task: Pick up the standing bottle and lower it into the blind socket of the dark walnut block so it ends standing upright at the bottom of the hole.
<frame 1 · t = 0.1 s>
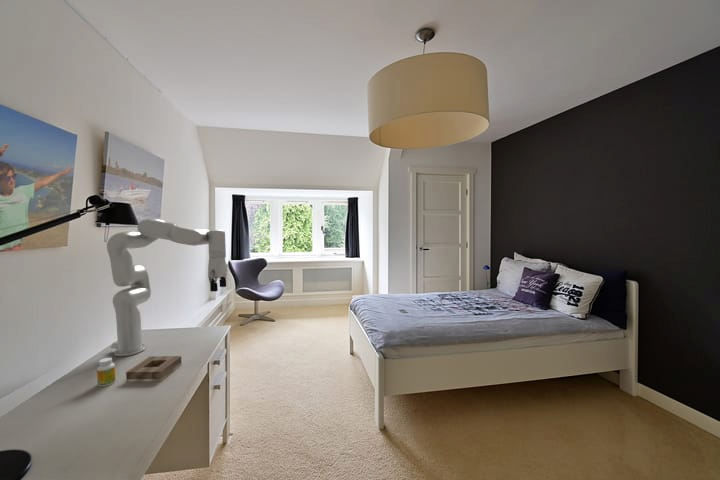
hand: (218, 288, 148), 31 cm above the table, tool pointing down, fingers open, 9 cm apart
supplement bottle: (106, 383, 119), on the table
socket block: (155, 372, 127), on the table
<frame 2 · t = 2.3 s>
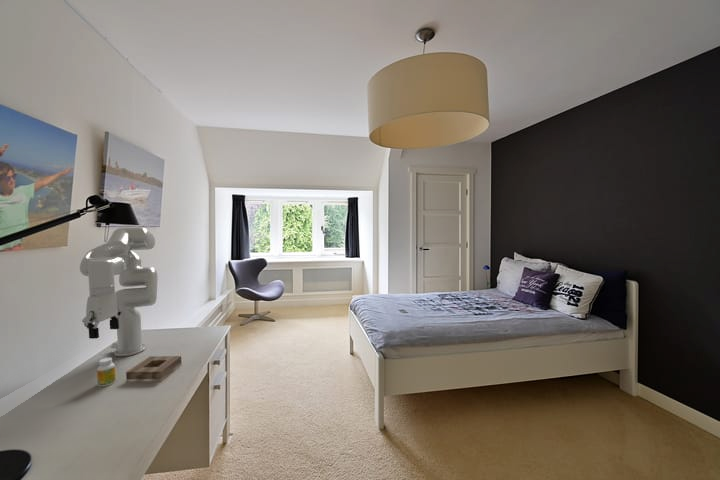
hand: (104, 333, 118), 20 cm above the table, tool pointing down, fingers open, 9 cm apart
nothing on the table moved.
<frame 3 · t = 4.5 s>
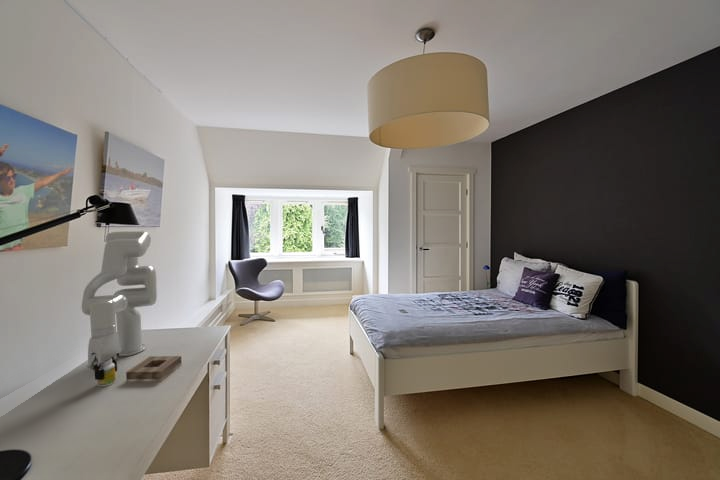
hand: (106, 374, 119), 4 cm above the table, tool pointing down, fingers closed on supplement bottle, 5 cm apart
supplement bottle: (106, 383, 119), on the table, touching gripper
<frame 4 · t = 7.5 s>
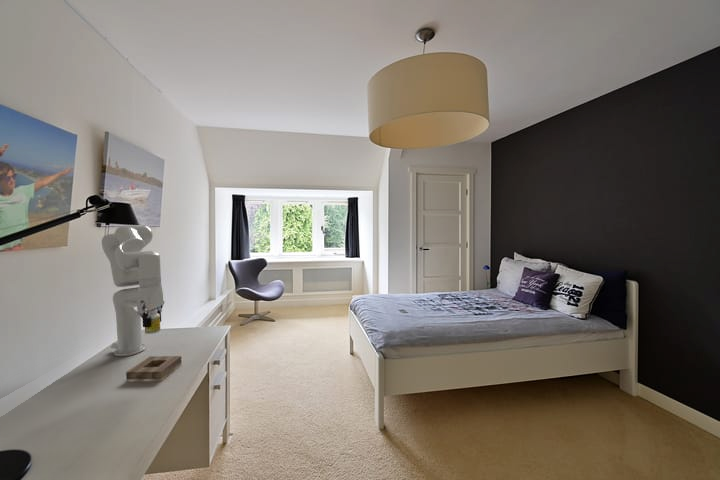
hand: (152, 323, 126), 21 cm above the table, tool pointing down, fingers closed on supplement bottle, 5 cm apart
supplement bottle: (152, 332, 126), point 18 cm above the table, touching gripper
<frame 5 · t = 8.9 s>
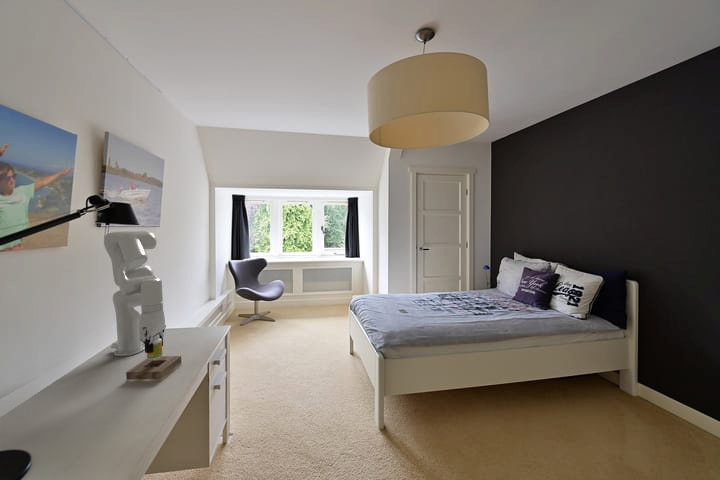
hand: (154, 349, 127), 10 cm above the table, tool pointing down, fingers closed on supplement bottle, 5 cm apart
supplement bottle: (154, 357, 127), point 7 cm above the table, touching gripper
when the fingers open (6 cm above the table, at t = 10.4 s): supplement bottle drops 1 cm, resting on socket block.
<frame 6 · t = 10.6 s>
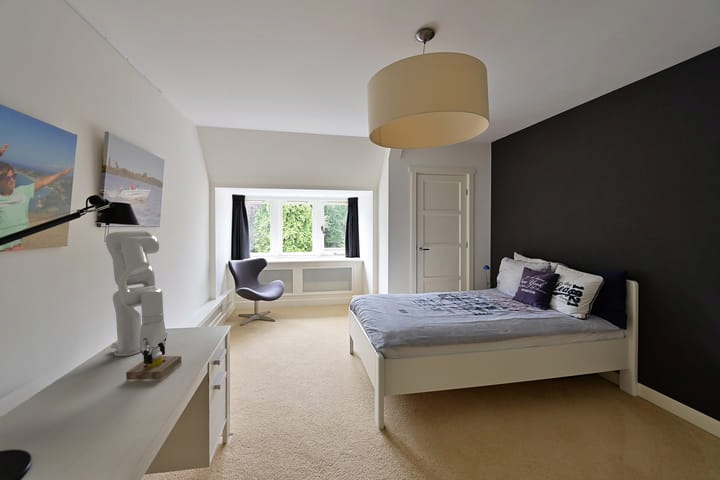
hand: (154, 358, 127), 6 cm above the table, tool pointing down, fingers open, 7 cm apart
supplement bottle: (155, 370, 127), point 1 cm above the table, touching socket block
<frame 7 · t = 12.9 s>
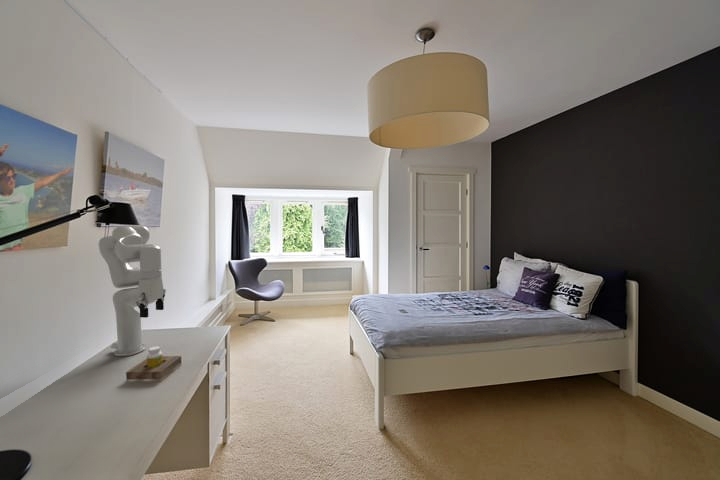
hand: (152, 313, 129), 25 cm above the table, tool pointing down, fingers open, 9 cm apart
nothing on the table moved.
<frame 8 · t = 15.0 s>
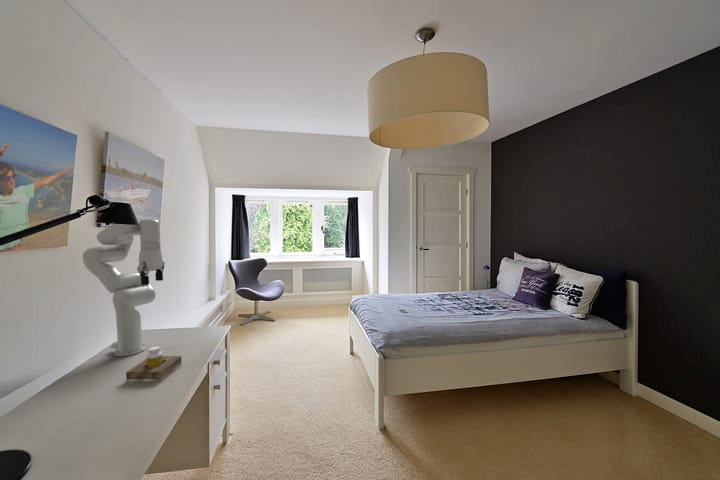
hand: (152, 282, 139), 36 cm above the table, tool pointing down, fingers open, 9 cm apart
nothing on the table moved.
at the end: supplement bottle 0.1 cm off-centre on the socket block, point 0.8 cm above the socket block's base; supplement bottle tilted 0°; the gripper is holding nothing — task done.
